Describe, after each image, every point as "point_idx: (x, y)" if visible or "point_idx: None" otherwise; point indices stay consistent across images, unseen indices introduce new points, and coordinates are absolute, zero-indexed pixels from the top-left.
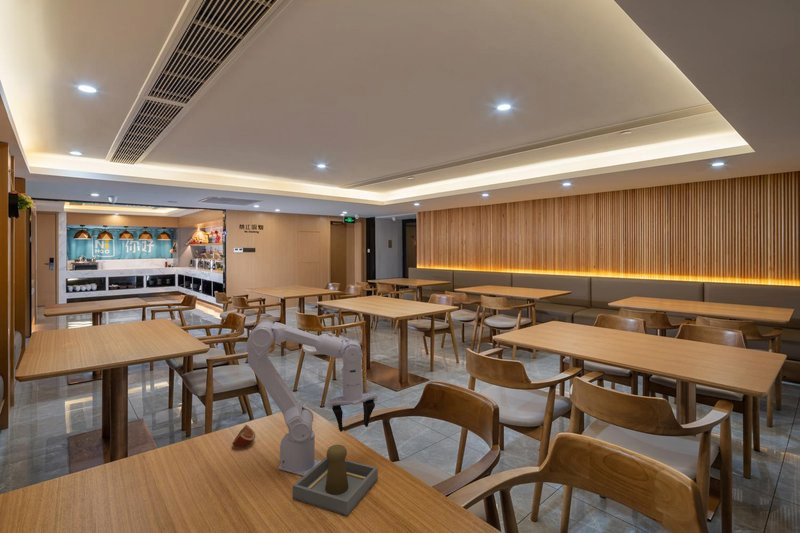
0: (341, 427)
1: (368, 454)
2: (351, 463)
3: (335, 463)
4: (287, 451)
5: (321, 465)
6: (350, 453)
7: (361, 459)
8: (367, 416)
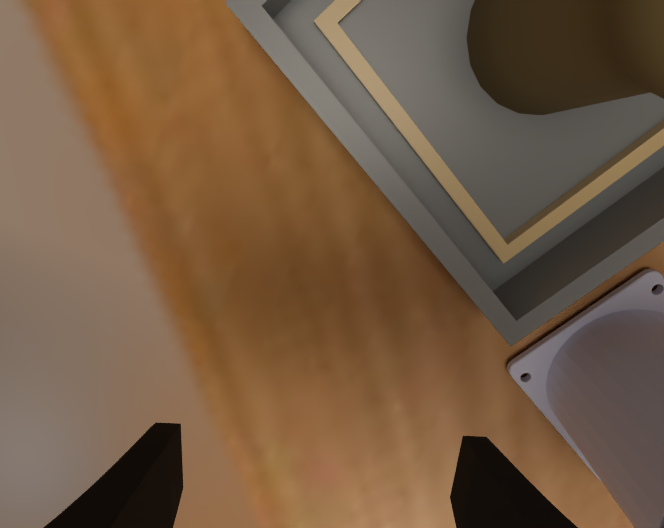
0: (500, 466)
1: (207, 339)
2: (398, 176)
3: None
4: None
5: (592, 258)
6: (308, 390)
7: (267, 304)
8: (102, 522)
